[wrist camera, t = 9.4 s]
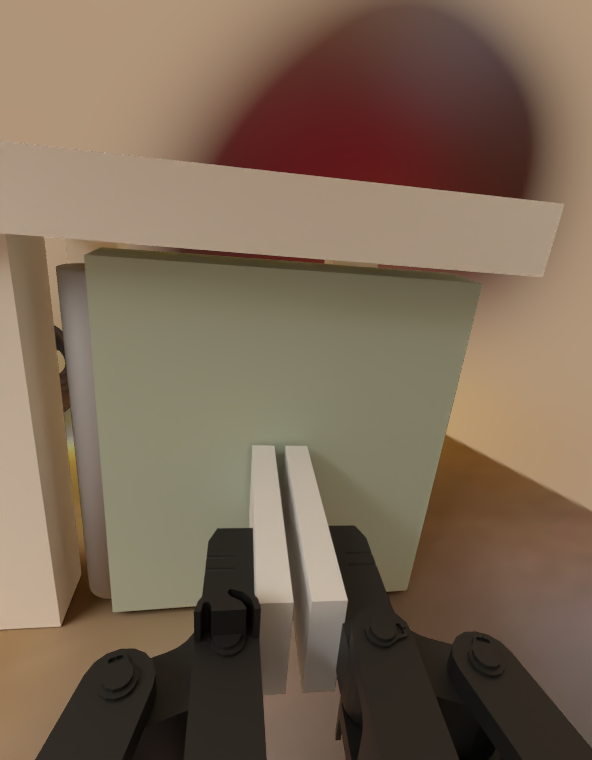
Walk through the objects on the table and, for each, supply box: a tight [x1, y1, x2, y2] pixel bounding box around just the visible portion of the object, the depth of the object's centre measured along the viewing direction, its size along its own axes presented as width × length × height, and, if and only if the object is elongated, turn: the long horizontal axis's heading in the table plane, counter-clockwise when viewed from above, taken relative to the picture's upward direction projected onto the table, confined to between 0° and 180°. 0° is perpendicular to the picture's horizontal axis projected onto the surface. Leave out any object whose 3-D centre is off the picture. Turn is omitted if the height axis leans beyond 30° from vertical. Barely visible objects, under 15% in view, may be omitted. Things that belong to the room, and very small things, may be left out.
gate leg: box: [56, 247, 483, 612], centre depth 16 cm, size 13×2×13 cm, turn 100°
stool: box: [0, 141, 564, 630], centre depth 21 cm, size 18×16×16 cm
